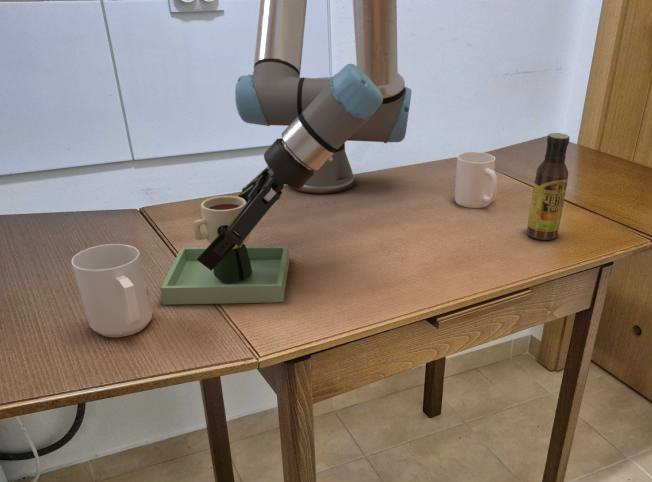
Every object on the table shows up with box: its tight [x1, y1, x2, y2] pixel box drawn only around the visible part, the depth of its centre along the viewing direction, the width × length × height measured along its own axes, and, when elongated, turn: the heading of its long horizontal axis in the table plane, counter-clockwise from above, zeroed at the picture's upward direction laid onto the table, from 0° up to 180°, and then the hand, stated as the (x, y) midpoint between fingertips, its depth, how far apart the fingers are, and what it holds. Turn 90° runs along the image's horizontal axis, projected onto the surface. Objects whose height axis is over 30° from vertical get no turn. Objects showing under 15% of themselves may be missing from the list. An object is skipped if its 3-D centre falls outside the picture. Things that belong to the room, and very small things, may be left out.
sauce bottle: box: [526, 132, 571, 241], centre depth 124 cm, size 6×6×20 cm
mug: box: [70, 243, 153, 338], centre depth 92 cm, size 12×9×11 cm
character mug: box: [192, 195, 252, 282], centre depth 105 cm, size 11×7×13 cm, turn 130°
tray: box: [160, 245, 290, 306], centre depth 108 cm, size 16×19×3 cm
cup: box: [454, 151, 498, 209], centre depth 141 cm, size 8×12×10 cm
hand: (211, 246), depth 105 cm, fingers open, 13 cm apart
